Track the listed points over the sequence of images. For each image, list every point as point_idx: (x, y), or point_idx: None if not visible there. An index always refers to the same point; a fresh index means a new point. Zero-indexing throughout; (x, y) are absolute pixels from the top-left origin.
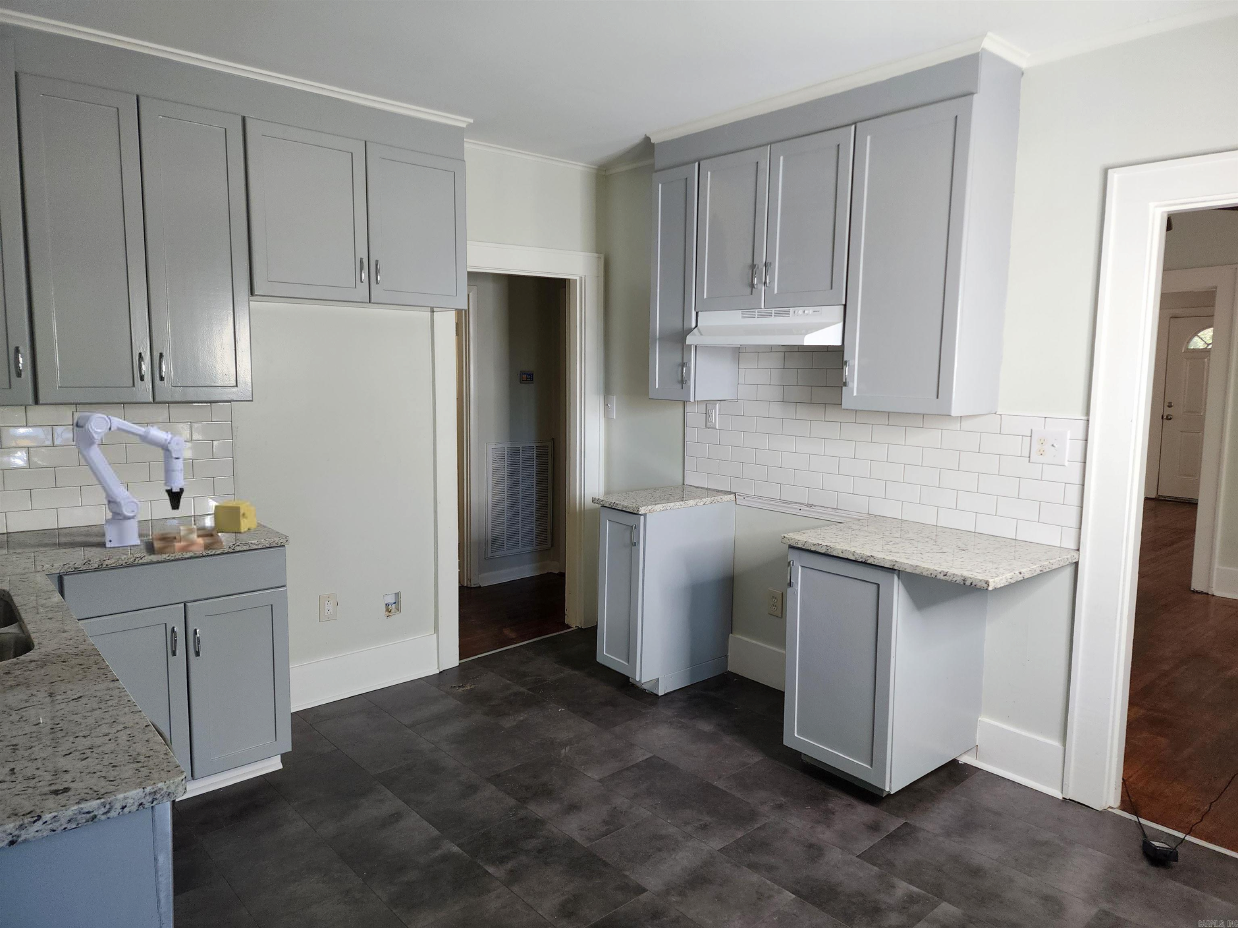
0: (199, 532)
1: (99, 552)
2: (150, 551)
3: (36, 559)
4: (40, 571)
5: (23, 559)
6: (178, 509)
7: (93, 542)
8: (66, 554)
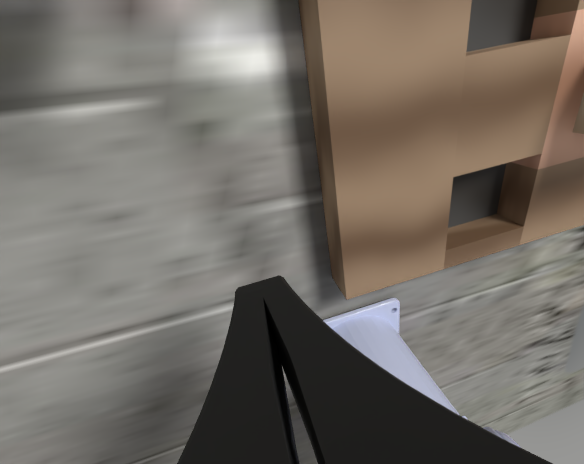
0: (406, 32)
1: (449, 361)
2: None
3: None
4: (573, 381)
5: None
6: (283, 278)
7: None
8: None
